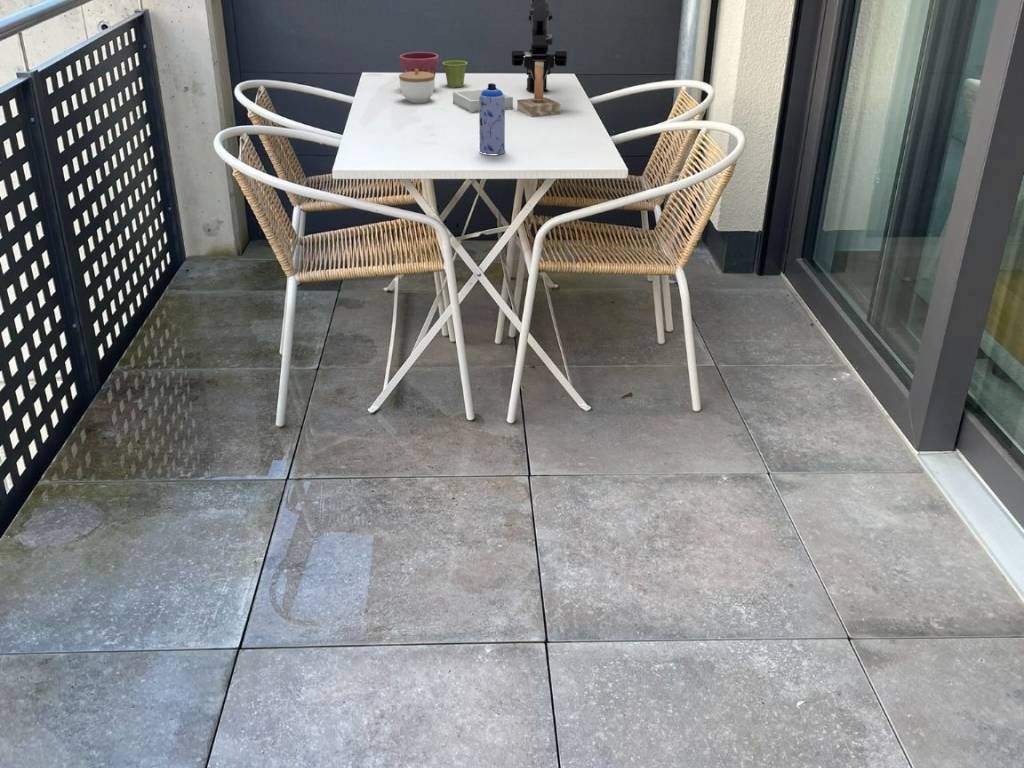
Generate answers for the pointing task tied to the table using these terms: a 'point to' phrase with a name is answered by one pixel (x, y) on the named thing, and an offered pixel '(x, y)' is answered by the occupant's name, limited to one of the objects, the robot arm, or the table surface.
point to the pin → (539, 80)
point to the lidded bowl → (417, 86)
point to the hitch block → (538, 107)
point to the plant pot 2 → (455, 73)
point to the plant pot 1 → (419, 62)
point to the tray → (475, 100)
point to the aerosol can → (492, 120)
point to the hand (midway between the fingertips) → (539, 79)
